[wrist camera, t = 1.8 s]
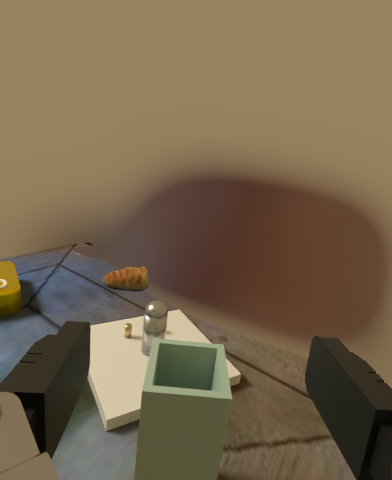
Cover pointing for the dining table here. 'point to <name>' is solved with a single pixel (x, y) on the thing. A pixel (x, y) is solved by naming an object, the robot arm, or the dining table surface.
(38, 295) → the dining table surface
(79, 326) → the robot arm
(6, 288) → the element tile
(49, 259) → the dining table surface
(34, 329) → the dining table surface
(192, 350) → the hollow square tube
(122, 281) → the pastry
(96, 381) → the base plate
